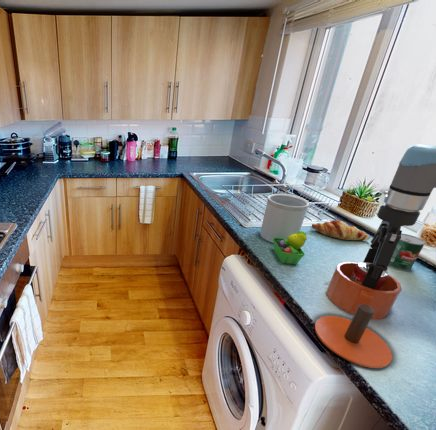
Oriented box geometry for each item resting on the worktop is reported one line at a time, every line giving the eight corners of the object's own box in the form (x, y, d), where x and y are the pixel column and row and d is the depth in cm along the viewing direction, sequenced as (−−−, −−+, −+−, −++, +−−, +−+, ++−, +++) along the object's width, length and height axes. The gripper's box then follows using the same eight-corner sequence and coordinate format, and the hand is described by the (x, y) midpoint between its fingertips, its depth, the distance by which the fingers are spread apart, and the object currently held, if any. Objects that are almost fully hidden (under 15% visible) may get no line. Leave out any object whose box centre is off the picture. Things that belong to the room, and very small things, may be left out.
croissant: (363, 245, 125) (367, 227, 125) (374, 245, 115) (378, 226, 115) (307, 233, 133) (311, 216, 133) (313, 232, 123) (317, 214, 123)
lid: (387, 338, 74) (407, 305, 70) (393, 383, 63) (416, 347, 58) (316, 310, 83) (329, 279, 78) (310, 346, 72) (325, 312, 67)
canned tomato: (389, 256, 110) (402, 231, 106) (415, 268, 104) (430, 241, 99) (377, 261, 107) (390, 235, 103) (403, 272, 101) (417, 246, 96)
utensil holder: (252, 236, 123) (261, 198, 116) (266, 226, 132) (276, 190, 125) (289, 250, 113) (302, 210, 106) (301, 238, 122) (314, 200, 115)
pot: (384, 294, 90) (397, 269, 86) (389, 334, 76) (405, 306, 72) (328, 276, 98) (338, 253, 94) (324, 309, 84) (335, 283, 80)
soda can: (348, 307, 84) (364, 274, 78) (337, 290, 90) (352, 259, 85) (377, 312, 82) (395, 279, 77) (364, 294, 89) (380, 263, 83)
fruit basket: (269, 248, 114) (276, 223, 110) (293, 250, 113) (301, 225, 108) (278, 264, 104) (287, 237, 99) (305, 267, 103) (315, 240, 98)
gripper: (379, 191, 84) (351, 255, 93) (385, 217, 67) (350, 291, 77) (414, 197, 80) (381, 264, 89) (429, 226, 63) (387, 303, 73)
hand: (367, 276), depth 83 cm, fingers open, 10 cm apart
